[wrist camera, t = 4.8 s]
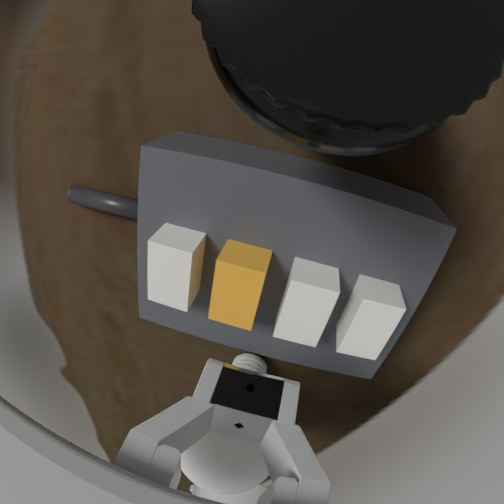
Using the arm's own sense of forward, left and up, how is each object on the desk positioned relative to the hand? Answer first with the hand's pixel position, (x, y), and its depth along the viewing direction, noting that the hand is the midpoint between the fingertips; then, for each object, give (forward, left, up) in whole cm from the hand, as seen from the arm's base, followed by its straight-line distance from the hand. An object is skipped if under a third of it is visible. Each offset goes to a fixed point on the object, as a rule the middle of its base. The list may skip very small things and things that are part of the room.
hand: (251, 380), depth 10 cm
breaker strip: (+2, +3, -10) cm, 10 cm away
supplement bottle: (+8, -6, -10) cm, 14 cm away
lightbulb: (-8, +6, -10) cm, 14 cm away
